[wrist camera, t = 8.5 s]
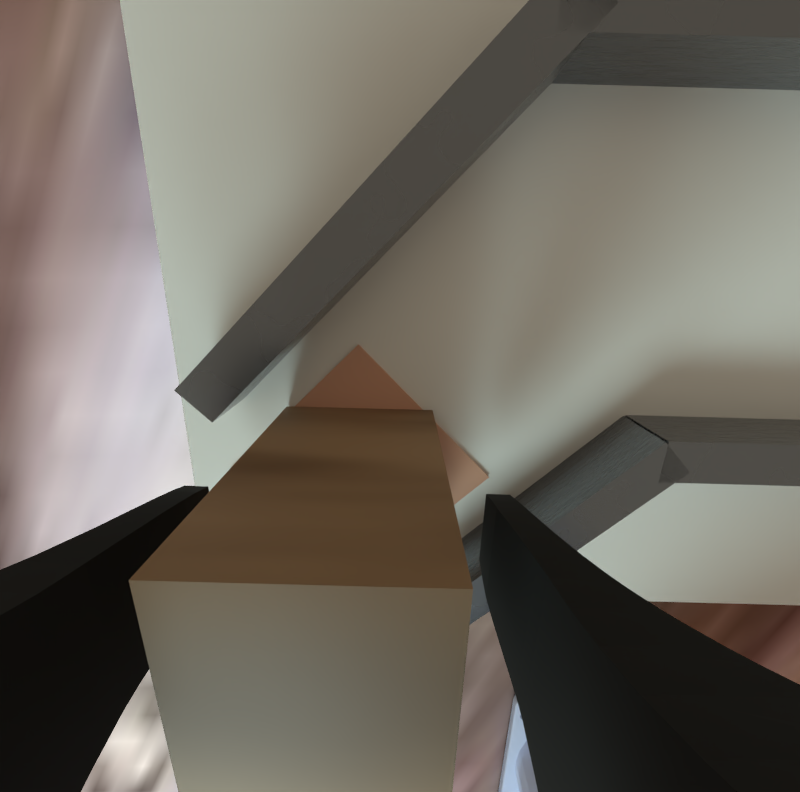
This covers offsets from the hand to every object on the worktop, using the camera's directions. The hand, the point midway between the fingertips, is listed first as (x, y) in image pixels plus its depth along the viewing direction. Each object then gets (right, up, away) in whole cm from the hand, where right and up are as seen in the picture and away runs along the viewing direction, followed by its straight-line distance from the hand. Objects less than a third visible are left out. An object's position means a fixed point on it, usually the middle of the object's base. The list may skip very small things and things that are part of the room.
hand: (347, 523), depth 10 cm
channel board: (+8, +5, +2) cm, 10 cm away
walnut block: (0, +1, +2) cm, 3 cm away
